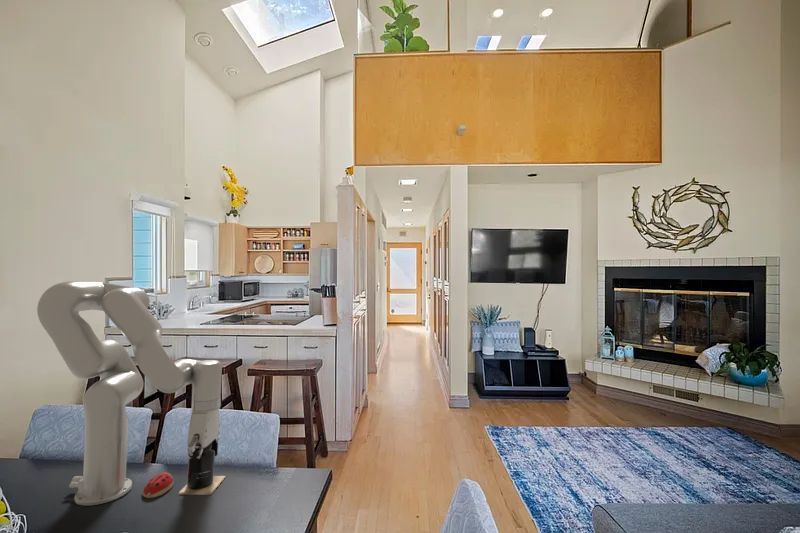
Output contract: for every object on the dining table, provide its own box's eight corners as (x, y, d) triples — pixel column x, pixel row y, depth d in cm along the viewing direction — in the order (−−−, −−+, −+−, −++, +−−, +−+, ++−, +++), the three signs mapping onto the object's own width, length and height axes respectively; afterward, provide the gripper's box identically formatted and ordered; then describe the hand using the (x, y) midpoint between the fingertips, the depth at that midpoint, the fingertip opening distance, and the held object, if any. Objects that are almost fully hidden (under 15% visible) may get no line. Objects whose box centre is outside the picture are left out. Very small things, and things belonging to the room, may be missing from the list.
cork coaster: (178, 494, 106) (178, 492, 106) (194, 477, 115) (195, 475, 115) (211, 494, 106) (211, 492, 106) (225, 477, 115) (225, 475, 115)
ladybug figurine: (178, 481, 113) (179, 468, 114) (162, 500, 104) (163, 486, 104) (154, 482, 112) (154, 469, 113) (135, 501, 103) (136, 487, 103)
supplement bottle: (202, 491, 106) (204, 448, 107) (181, 488, 108) (183, 445, 108) (218, 479, 113) (220, 438, 114) (198, 476, 114) (200, 435, 115)
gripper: (207, 394, 120) (204, 450, 119) (176, 414, 103) (174, 479, 102) (231, 395, 120) (229, 450, 120) (205, 414, 103) (202, 479, 102)
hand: (203, 463), depth 111 cm, fingers open, 9 cm apart
